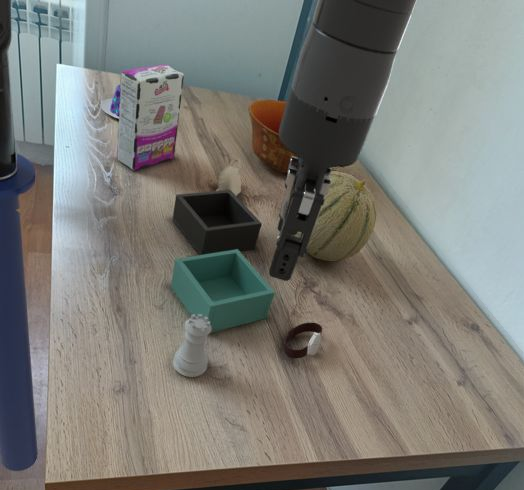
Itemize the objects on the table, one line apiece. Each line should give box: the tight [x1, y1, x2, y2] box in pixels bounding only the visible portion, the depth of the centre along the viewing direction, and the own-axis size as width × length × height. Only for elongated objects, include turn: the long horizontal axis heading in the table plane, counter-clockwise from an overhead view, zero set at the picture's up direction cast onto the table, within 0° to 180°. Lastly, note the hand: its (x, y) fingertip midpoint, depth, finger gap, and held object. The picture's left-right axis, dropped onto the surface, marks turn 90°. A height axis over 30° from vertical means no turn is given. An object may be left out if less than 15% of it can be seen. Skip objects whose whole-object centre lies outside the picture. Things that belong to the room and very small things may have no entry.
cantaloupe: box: [293, 171, 377, 262], centre depth 92 cm, size 15×15×15 cm
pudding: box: [100, 84, 120, 120], centre depth 116 cm, size 12×12×5 cm
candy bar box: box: [116, 64, 185, 171], centre depth 100 cm, size 11×5×16 cm, turn 143°
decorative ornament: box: [215, 157, 242, 197], centre depth 102 cm, size 4×8×5 cm, turn 160°
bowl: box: [248, 99, 297, 174], centre depth 116 cm, size 21×21×10 cm
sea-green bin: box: [170, 249, 276, 333], centre depth 78 cm, size 11×11×5 cm
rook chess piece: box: [172, 314, 212, 378], centre depth 67 cm, size 4×4×8 cm
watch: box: [283, 322, 323, 360], centre depth 76 cm, size 8×5×4 cm, turn 147°
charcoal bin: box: [171, 190, 262, 255], centre depth 91 cm, size 11×11×5 cm
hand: (282, 253), depth 56 cm, fingers open, 8 cm apart
